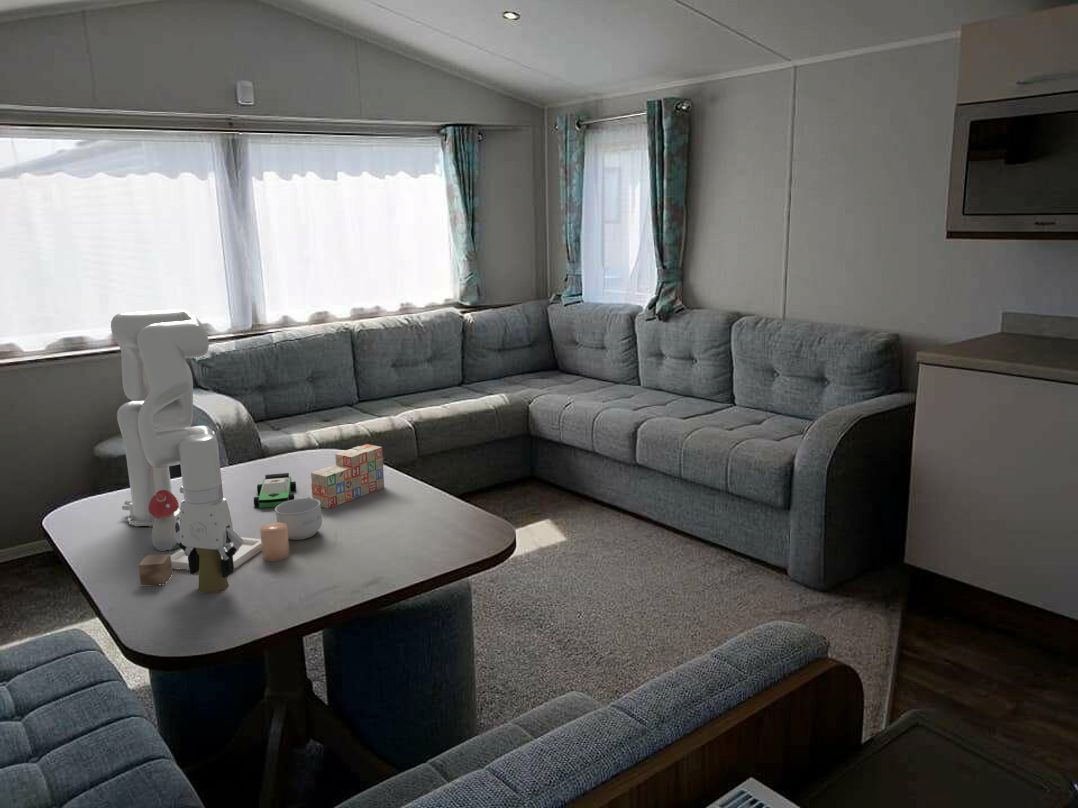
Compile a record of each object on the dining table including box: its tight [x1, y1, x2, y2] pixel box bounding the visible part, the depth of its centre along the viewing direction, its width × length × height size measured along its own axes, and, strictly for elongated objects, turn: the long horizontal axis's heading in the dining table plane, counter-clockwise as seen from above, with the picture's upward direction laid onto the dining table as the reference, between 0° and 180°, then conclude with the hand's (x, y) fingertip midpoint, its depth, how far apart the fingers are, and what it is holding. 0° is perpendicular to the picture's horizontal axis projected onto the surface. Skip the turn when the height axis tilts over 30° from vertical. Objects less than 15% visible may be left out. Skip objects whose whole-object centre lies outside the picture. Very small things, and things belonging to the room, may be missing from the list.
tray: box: [170, 536, 262, 571], centre depth 194 cm, size 16×16×2 cm
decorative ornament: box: [148, 490, 181, 552], centre depth 199 cm, size 9×7×15 cm
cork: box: [196, 548, 229, 594], centre depth 178 cm, size 6×6×11 cm
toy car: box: [253, 472, 297, 509], centre depth 234 cm, size 10×19×5 cm, turn 14°
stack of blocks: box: [310, 443, 385, 509], centre depth 234 cm, size 21×6×12 cm, turn 146°
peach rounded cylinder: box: [259, 522, 290, 562], centre depth 194 cm, size 6×6×7 cm
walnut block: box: [138, 554, 174, 586], centre depth 182 cm, size 5×5×5 cm
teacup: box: [274, 495, 323, 541], centre depth 207 cm, size 14×11×8 cm
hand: (211, 572), depth 178 cm, fingers open, 7 cm apart
